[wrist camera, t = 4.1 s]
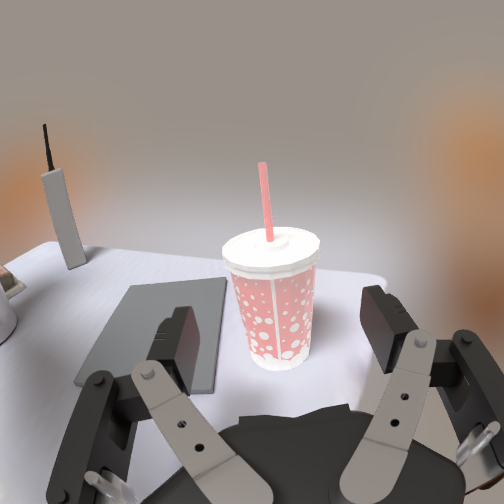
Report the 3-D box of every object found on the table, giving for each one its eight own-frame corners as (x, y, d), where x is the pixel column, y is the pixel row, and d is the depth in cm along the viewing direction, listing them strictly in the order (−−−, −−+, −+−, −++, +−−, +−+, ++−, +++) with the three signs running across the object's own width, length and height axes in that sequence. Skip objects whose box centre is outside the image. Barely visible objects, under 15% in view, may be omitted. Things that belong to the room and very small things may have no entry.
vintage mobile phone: (85, 255, 47) (55, 123, 36) (87, 263, 43) (54, 118, 33) (67, 261, 45) (36, 129, 35) (68, 270, 41) (33, 125, 31)
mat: (76, 385, 19) (73, 381, 18) (131, 289, 33) (130, 285, 33) (212, 393, 18) (211, 389, 18) (226, 280, 33) (225, 276, 32)
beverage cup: (316, 323, 24) (310, 153, 18) (322, 376, 18) (323, 166, 13) (246, 326, 25) (220, 162, 19) (236, 379, 19) (195, 178, 13)
